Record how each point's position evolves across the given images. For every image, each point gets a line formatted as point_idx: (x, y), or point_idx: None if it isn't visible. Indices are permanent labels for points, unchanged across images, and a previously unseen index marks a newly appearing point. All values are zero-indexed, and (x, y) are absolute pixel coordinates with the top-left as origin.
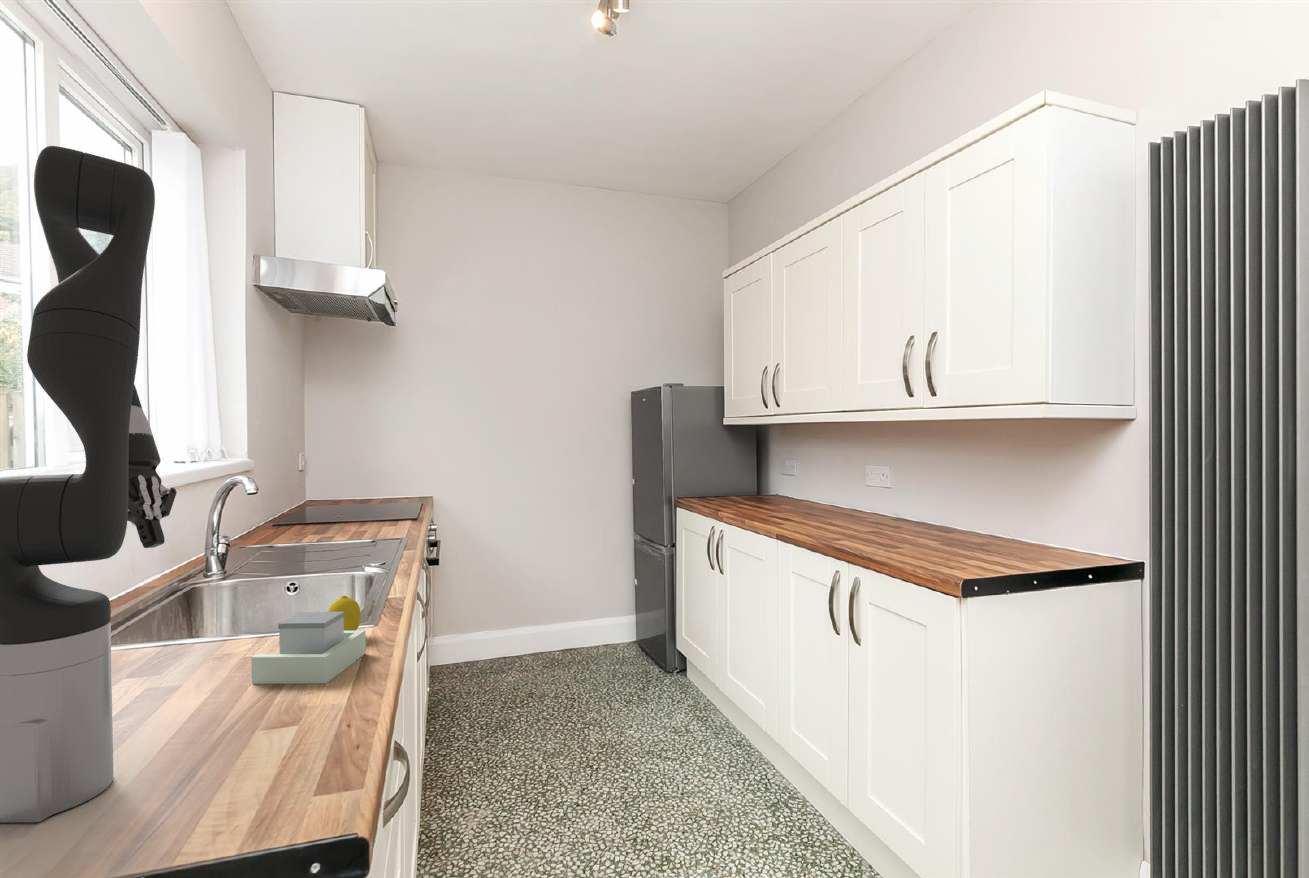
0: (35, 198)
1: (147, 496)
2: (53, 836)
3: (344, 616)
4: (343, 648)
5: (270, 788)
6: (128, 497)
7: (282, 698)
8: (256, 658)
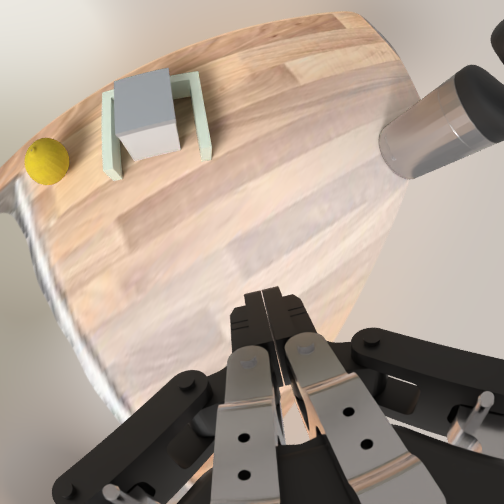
0: None
1: (337, 413)
2: None
3: (59, 144)
4: None
5: (350, 46)
6: (444, 377)
7: (239, 103)
8: (210, 141)
